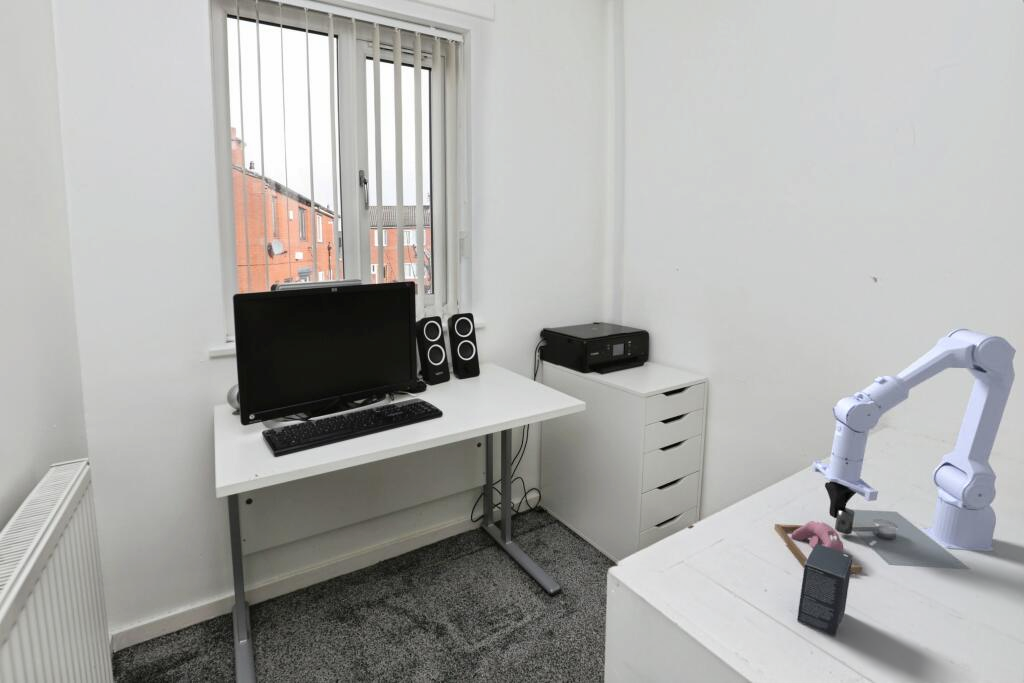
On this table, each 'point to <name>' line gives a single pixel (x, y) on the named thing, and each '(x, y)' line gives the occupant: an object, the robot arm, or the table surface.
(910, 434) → the table surface
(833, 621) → the box
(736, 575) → the table surface
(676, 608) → the table surface
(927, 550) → the plate
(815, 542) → the video game controller
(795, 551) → the bay
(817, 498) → the table surface
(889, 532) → the crank
